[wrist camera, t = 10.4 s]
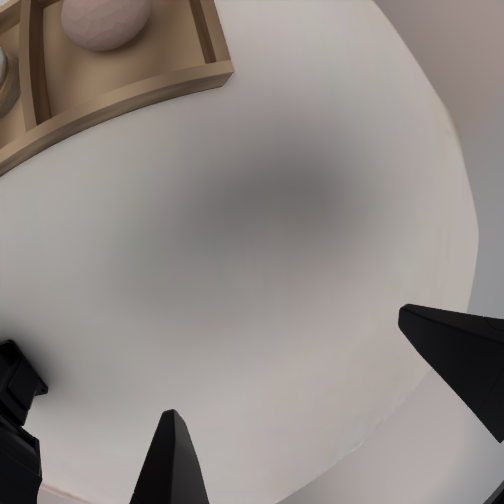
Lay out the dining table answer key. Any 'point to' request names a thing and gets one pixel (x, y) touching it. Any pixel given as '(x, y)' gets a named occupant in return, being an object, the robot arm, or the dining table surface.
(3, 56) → the tin
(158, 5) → the crate
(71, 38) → the egg
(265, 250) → the dining table surface
